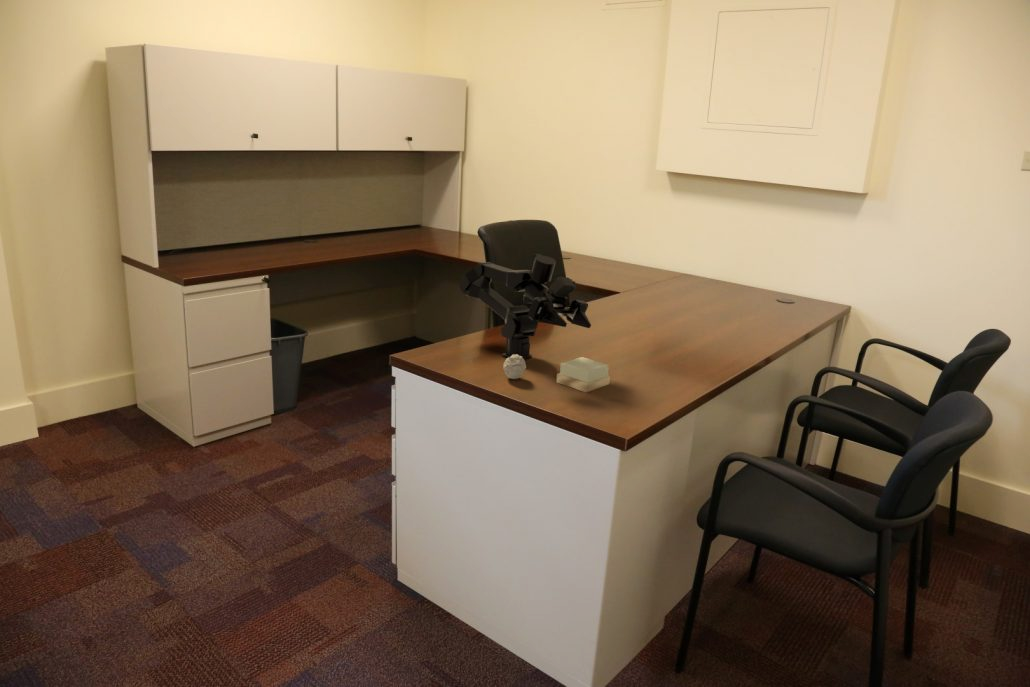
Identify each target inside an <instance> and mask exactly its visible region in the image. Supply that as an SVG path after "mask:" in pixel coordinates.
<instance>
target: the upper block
mask: <svg viewBox="0 0 1030 687" xmlns="http://www.w3.org/2000/svg"><path fill="white" fill-rule="evenodd" d="M559 367H560V369H559V373H560V374H562V375H565V376H568V377H571V378H574V379H577V380H580V381H583V382H586V383H588V382H591V381H594V380H597V379H600V378H603V377H605V376H608V375H609V368H610V365H609V364H607V363H603V362H601V361H596V360H593V359H590V358H586V357H583V356H580V357H577V358H574V359H570V360H566V361H563V362H561V363H560V366H559Z"/></svg>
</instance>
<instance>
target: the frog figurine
mask: <svg viewBox="0 0 1030 687" xmlns="http://www.w3.org/2000/svg"><path fill="white" fill-rule="evenodd" d="M502 368H503V371H504V374H505V375H506V377H508V378H509V379H510V380H517V379H519V378H521V377H522V375H523V374H524V373H525V371H526V368H527V365H526V361H525V359H523V358H522V356H519V355H518V354H516V355H512V356H511V357H509V358H508V357H506V359H505V360H504V362H503V366H502Z"/></svg>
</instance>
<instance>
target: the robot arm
mask: <svg viewBox="0 0 1030 687" xmlns="http://www.w3.org/2000/svg"><path fill="white" fill-rule="evenodd" d="M556 263H557V262H556V259H555V258H554V257H550V256H547V255H542V254H541V253H535V254H533V259H532V262H531V268H530V269H516V270H515V269H511V268H509V267H505V266H502V265H498V264H495V263H493V262H491V261H486V262H479V263H477V264H476V265H475V266H474V267H473V268H472V269H471V270H469V271H468V272H466V273H465V274H464V275H463V276H462V278H460V279H461V280H459V290H460V291H461V293H462V294H463V295H465V296H467V297H469V298H474V299H478V300H479V301H481V302H482V303H483V304H484V305H486V306H487V307H488V308H490V309H491V310H492V311H494V312H495V314H497V315H498V316H500V317H501V318H502V319H503V320H504V325H503V326H502V327H501V329H500V332H501V333H500V334H501V337H503V338H505V339H506V341H505V342H506V344H505V346H506V347H505V352H504V353H502V354H501V355H502V356H503V357H505V358H509V357H511V356H512V355H516V354H518V355H519V356H522V358H523V359H524V360H525V359H528V358H529V359H530V358H532V357H533V355H532V354H530V352H531V351H530V350H531V349H530V348H531V343H530V337H534V336H535V333H536V331H537V328H538V324H539V323H542V324H543V323H544V324H548V325H554V326H558V327H563V328H566V327H567V325H568V323H567V321H568V322H569V323H571V324H572V325H575V326H579V327H583V328H586V329H590V328H591V326H592V324H591V322H590V320H589V318H588V317H587V314H586V312H587V310H588V307H589V303H587V302H586V301H585V300H579V299H574V300H571V302H570V305H569V307H567V306H566V303H568V300H569V298H568V297H567V296H568V295H569V294H572V293H573V292H574V291H575V290H576V288H577V284H576V281H575V280H573V279H572V278H570V277H566V276H559V277H557V278H556V279H555V280H554V281H553V282H552V284H551V285H550V286H549V288H548V286H546V285H545V284H547V283H549V282H551V281H552V276H553V274H554V270H555V266H556ZM493 280H494V281H497V282H499V283H503V284H505V286H506V288H507V289H509V290H511V291H512V292H514V293H518V292H524V294H523V295H522V296H523V300H522V303H523V304H521V305H514V304H512V303H511V302H510V301H508V300H507V299H506V298H505V297H503V295H500V293H498V292H497V291H495V290H494V289H493V288H492V287H491V283H492V281H493ZM528 304H531V306H530V307H528V306H527V305H528ZM564 317H566V321H565V319H564Z"/></svg>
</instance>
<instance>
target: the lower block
mask: <svg viewBox="0 0 1030 687" xmlns="http://www.w3.org/2000/svg"><path fill="white" fill-rule="evenodd" d="M610 380H611V375H609V374H608V376H605V377H603V378H600V379H597V380H594V381H591V382H588V383H586V382H583V381H580V380H577V379H574V378H571V377H568V376H565V375H562V374H560V372H558V373H557V374H556V383H557V384H560V385H563V386H566V387H569V388H573V389H575V390H578V391H581V392H584V393H589V392H592V391H594V390H597V389H599V388H603V387H605V386H609V385H610Z"/></svg>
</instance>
